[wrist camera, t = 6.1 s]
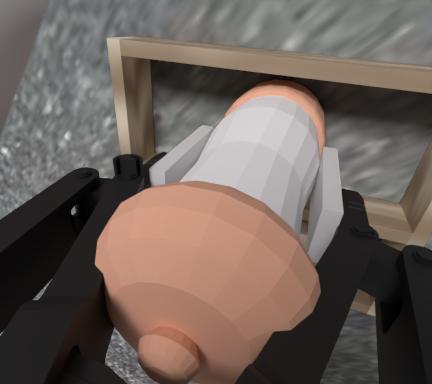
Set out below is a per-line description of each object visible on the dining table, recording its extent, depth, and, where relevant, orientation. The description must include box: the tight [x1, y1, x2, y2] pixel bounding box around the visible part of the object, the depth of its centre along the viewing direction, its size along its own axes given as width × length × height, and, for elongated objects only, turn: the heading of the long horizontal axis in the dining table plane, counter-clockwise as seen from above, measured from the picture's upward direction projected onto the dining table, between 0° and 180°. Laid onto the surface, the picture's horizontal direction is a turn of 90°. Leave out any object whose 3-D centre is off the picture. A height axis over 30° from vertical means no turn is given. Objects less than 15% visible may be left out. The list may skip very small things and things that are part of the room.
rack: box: [107, 36, 432, 316], centre depth 23 cm, size 19×24×4 cm
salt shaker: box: [95, 79, 326, 384], centre depth 14 cm, size 7×7×19 cm
